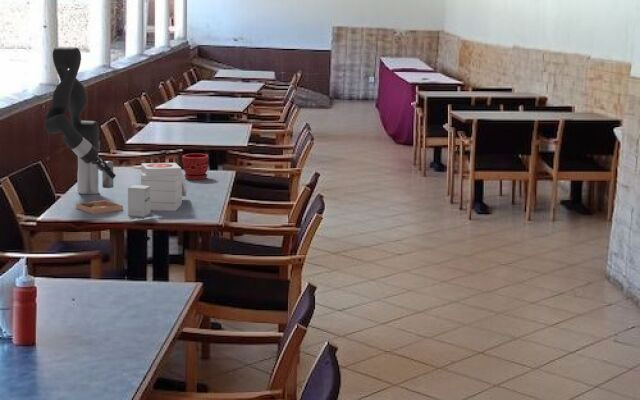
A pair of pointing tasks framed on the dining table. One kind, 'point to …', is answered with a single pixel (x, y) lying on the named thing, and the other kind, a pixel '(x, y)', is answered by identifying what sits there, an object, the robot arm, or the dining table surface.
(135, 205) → the supplement box
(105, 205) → the tray
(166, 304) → the dining table surface
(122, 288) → the dining table surface
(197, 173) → the plant pot
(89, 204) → the walnut block
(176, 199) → the pizza boxes
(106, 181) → the disc
